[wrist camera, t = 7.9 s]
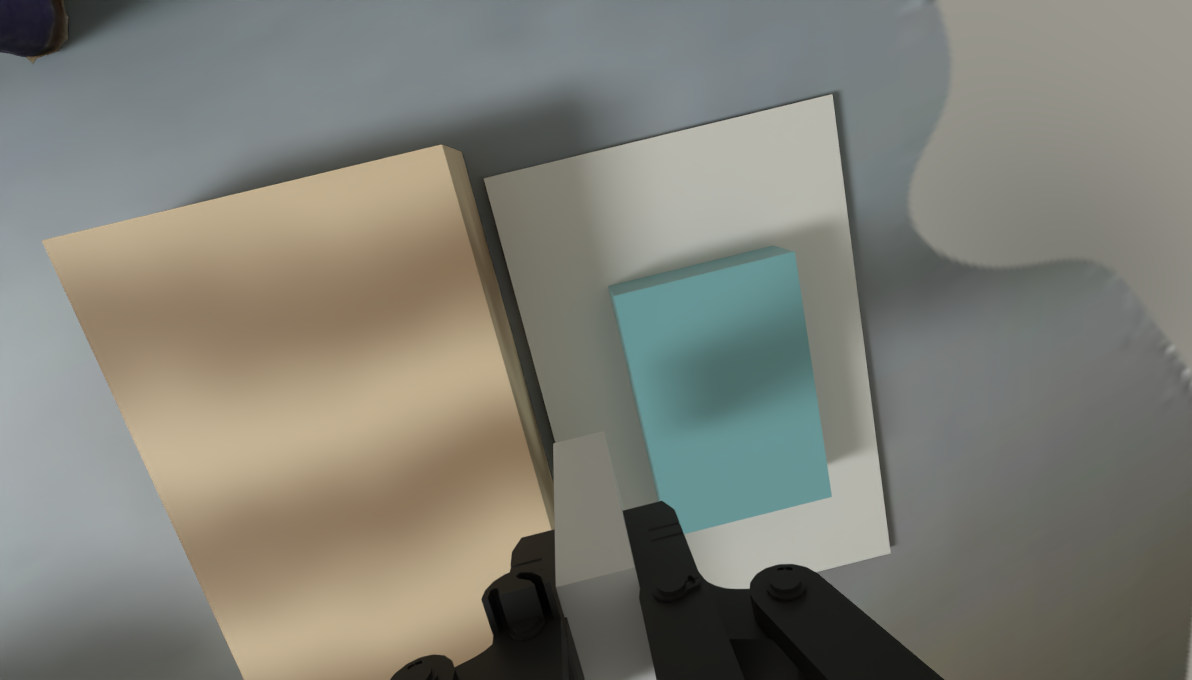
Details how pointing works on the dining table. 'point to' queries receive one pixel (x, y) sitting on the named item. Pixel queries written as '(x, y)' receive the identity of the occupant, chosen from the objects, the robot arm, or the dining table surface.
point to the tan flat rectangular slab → (324, 409)
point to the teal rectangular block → (724, 387)
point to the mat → (684, 238)
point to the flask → (32, 27)
